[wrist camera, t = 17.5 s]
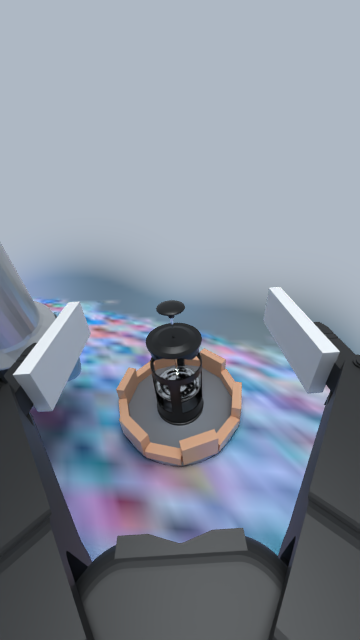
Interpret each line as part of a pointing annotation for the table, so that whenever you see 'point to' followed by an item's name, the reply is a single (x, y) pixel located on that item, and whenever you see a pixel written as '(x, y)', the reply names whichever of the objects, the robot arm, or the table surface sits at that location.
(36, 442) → the robot arm
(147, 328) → the table surface
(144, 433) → the castellated ring
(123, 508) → the table surface
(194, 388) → the french press
